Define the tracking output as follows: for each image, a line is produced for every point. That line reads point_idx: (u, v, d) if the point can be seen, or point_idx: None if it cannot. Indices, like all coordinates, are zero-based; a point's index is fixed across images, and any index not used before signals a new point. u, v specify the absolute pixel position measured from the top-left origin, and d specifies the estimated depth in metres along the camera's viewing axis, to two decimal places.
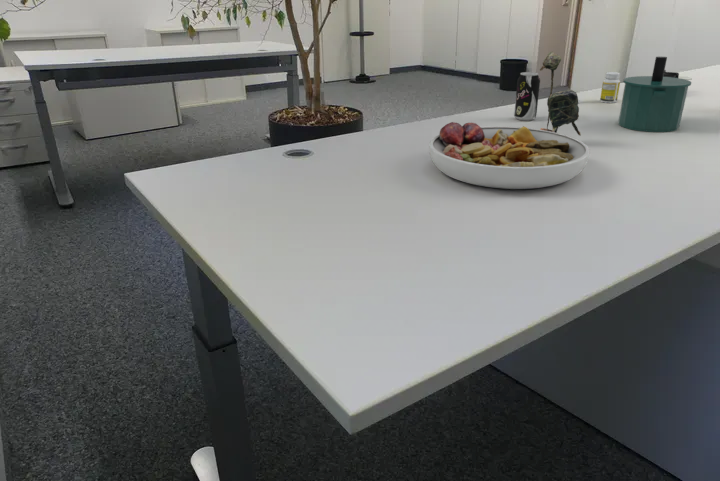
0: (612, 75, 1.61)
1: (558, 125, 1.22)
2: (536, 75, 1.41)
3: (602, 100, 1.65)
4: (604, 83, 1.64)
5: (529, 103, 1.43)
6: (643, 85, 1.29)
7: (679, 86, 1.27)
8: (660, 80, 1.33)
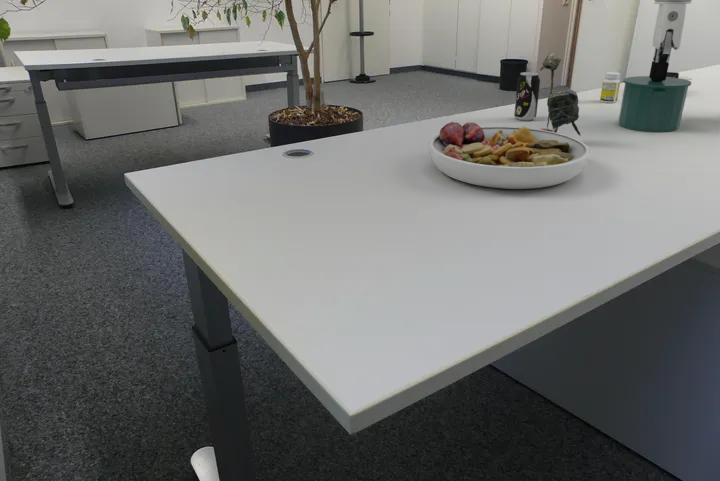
0: (612, 75, 1.61)
1: (558, 125, 1.22)
2: (536, 75, 1.41)
3: (602, 100, 1.65)
4: (604, 83, 1.64)
5: (529, 103, 1.43)
6: (643, 85, 1.29)
7: (679, 86, 1.27)
8: None
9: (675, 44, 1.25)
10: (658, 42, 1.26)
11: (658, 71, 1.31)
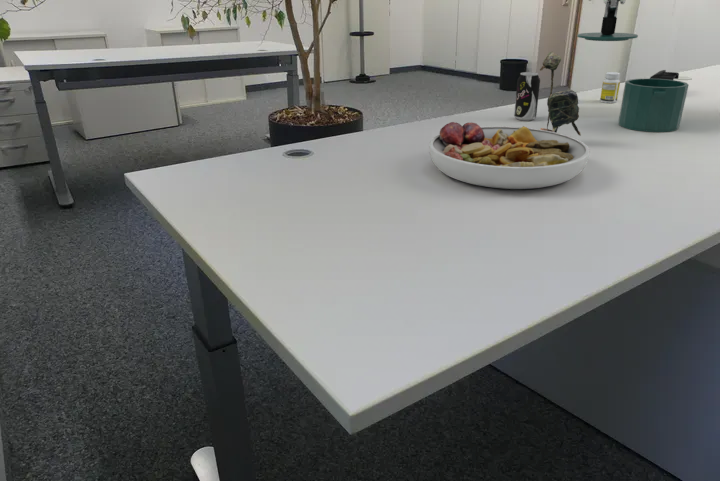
0: (612, 75, 1.61)
1: (558, 125, 1.22)
2: (536, 75, 1.41)
3: (602, 100, 1.65)
4: (604, 83, 1.64)
5: (529, 103, 1.43)
6: (593, 37, 1.41)
7: (625, 38, 1.39)
8: (610, 34, 1.44)
9: None
10: None
11: (607, 25, 1.42)
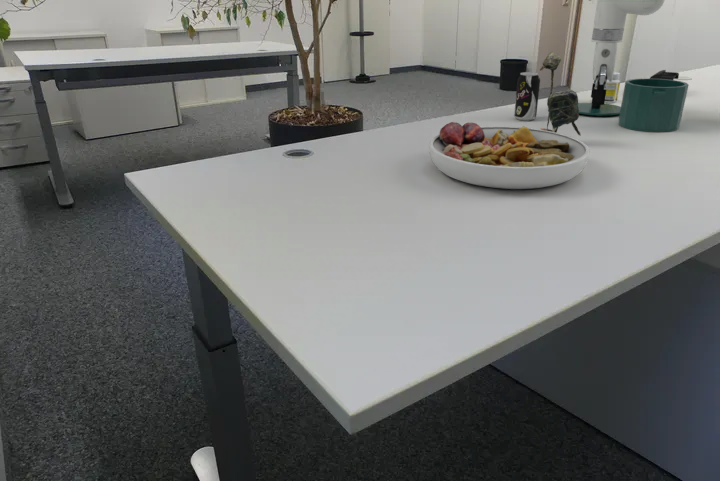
0: None
1: (558, 125, 1.22)
2: (536, 75, 1.41)
3: None
4: None
5: (529, 103, 1.43)
6: (582, 112, 1.49)
7: (612, 114, 1.47)
8: (598, 107, 1.52)
9: (608, 77, 1.45)
10: (594, 75, 1.46)
11: (597, 97, 1.47)
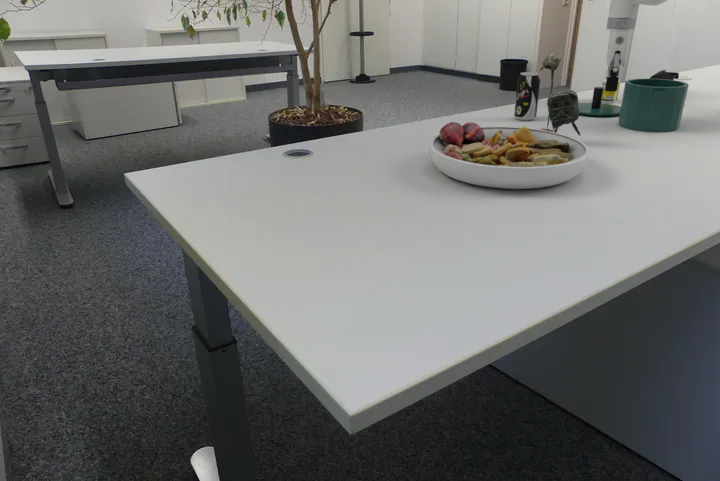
0: None
1: (558, 125, 1.22)
2: (536, 75, 1.41)
3: (602, 100, 1.65)
4: (604, 83, 1.64)
5: (529, 103, 1.43)
6: (582, 112, 1.49)
7: (612, 114, 1.47)
8: (598, 107, 1.52)
9: (622, 62, 1.57)
10: (609, 61, 1.58)
11: (610, 84, 1.61)
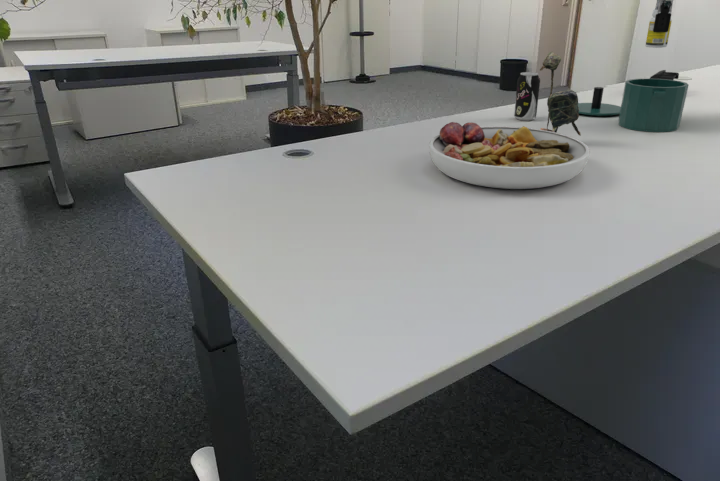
0: None
1: (558, 125, 1.22)
2: (536, 75, 1.41)
3: (648, 45, 1.34)
4: (651, 23, 1.32)
5: (529, 103, 1.43)
6: (582, 112, 1.49)
7: (612, 114, 1.47)
8: (598, 107, 1.52)
9: None
10: None
11: (660, 22, 1.29)
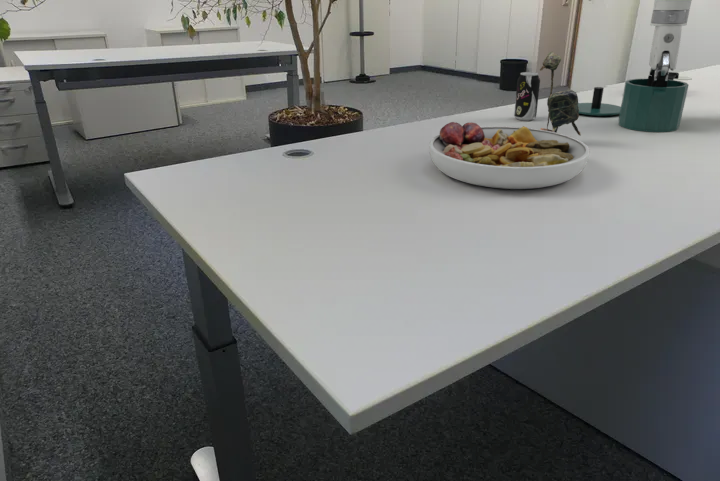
0: None
1: (558, 125, 1.22)
2: (536, 75, 1.41)
3: None
4: None
5: (529, 103, 1.43)
6: (582, 112, 1.49)
7: (612, 114, 1.47)
8: (598, 107, 1.52)
9: (671, 65, 1.27)
10: (654, 63, 1.28)
11: None
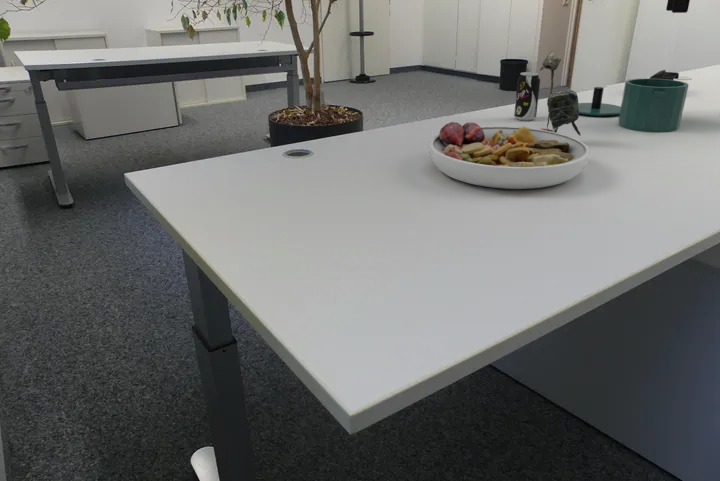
0: None
1: (558, 125, 1.22)
2: (536, 75, 1.41)
3: None
4: None
5: (529, 103, 1.43)
6: (582, 112, 1.49)
7: (612, 114, 1.47)
8: (598, 107, 1.52)
9: None
10: None
11: (679, 2, 1.26)
